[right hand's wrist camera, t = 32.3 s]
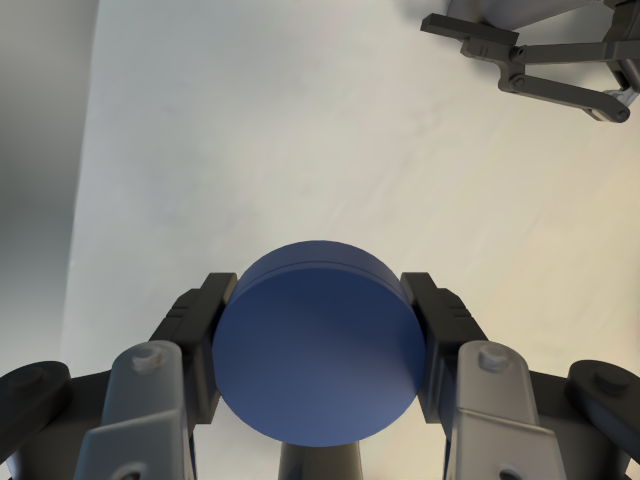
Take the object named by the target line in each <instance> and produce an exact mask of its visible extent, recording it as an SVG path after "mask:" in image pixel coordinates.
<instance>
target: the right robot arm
mask: <svg viewBox="0 0 640 480" xmlns="http://www.w3.org/2000/svg"><path fill="white" fill-rule="evenodd" d="M237 282H238V280H237V275H236V273H210V274H209V275H208V277H207V278H206V280H205V282H204V283H203V285H202V286H201V288H200V289H190V290H189V291H187V292H186V293H184V294H183V295H181V296H180V297H179V298H178V299H177V300H176V302H175V303H174V305H173V306H172V309H170V310H169V312H168V313H167V315H166V318H164V319H163V320H162V322H161V323H160V325H159V326H158V328H157V329H156V331H155V332H154V333H153V335H152V336H151V338H150V339H149V341H148V342H144V343H141V344H138V345H135V346H133V347H131V348H129V349H127V350H126V351H124V352H123V353H121V354H120V355H119V356H118V357H117V358H116V359H115V361H114V363H113V365H112V369H111V370H108V371H105V372H101V373H96V374H91V375H86V376H82V377H77V378H72V379H71V376H70V373H69V369H68V367H67V366H66V365H65V364H64V363H61V362H58V361H43V362H37V363H33V364H29V365H26V366H23V367H20V368H18V369H15V370H13V371H11V372H9V373H7V374H6V375H4V376H2V377H1V378H0V465H1V464H2V463H3V462H4V461H6V463H7V466H8V468H9V471H10V474H11V476H12V477H11V478H9V479H8V480H198V475H197V462H196V450H195V441H194V434H193V430H194V428H195V425H196V424H211V422H212V419H213V416H214V413H215V410H216V407H217V404H218V401H219V398H220V393H219V390H218V388H217V386H216V381H215V373H214V364H213V356H212V340H213V336H214V333H215V330H216V328H217V325H218V323H219V320H220V318H221V316H222V314H223V311H224V309H225V307H226V305H227V302H228V300H229V298H230V296H231V293H232V291H233V289H234V288H235V286H236V284H237ZM400 283H401V284H402V286H403V288H404V290H405V292H406V294H407V297H408V299H409V301H410V304H411V306H412V308H413V311H414V313H415V315H416V318H417V320H418V322H419V325H420V327H421V330H422V332H423V335H424V339H425V344H426V352H425V361H424V370H423V378H422V385H421V387H420V389H419V392H418V394H417V396H418V399H419V402H420V405H421V408H422V412H423V415H424V418H425V421H426V423H441V424H442V427H443V429H444V432H445V435H446V441H445V450H444V462H443V475H442V480H632V479H631V478H629V477H628V476H627V475H626V474H625V472H626V470H627V467H628V464H629V462H630V459H631V458H632V459H633V460H635V461H636V462H637V463H638V464H639V465H640V378H639V377H638V376H636V375H635V374H633V373H631V372H629V371H627V370H625V369H623V368H621V367H619V366H616V365H613V364H610V363H606V362H602V361H597V360H580V361H577V362H575V363H573V364H572V365H571V367H570V369H569V373H568V377H567V378H563V377H558V376H554V375H549V374H544V373H539V372H535V371H530V370H529V369H528V365H527V363H526V361H525V359H524V358H523V357H522V356H521V355H520V354H519V353H517V352H516V351H514V350H513V349H511V348H509V347H507V346H505V345H502V344H499V343H496V342H492V341H489V340H488V338H487V337H486V335H485V334H484V333H483V331H482V330H481V328H480V327H479V325H478V324H477V322H476V321H475V319H474V318H473V317H472V316H471V314H470V312H469V311H468V309H466V306H465V305H464V303H463V302H462V301H461V299H460V298H459V297H458V296H457V295H455V294H454V293H452V292H451V291H449V290H448V289H446V288H437V287H436V285H435V283H434V282H433V280H432V278H431V277H430V275H429V274H428V273H427V272H403V273H402V275H401V279H400ZM278 480H363V475H362V466H361V457H360V448H359V440H358V441H355V442H352V443H348V444H343V445H337V446H327V447H311V446H300V445H295V444H290V443H286V442H283V441H282V446H281V456H280V465H279V474H278Z"/></svg>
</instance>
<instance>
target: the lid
mask: <svg viewBox="0 0 640 480" xmlns="http://www.w3.org/2000/svg"><path fill="white" fill-rule="evenodd" d="M425 352H426V344H425V339H424V335H423V332H422V330H421V327H420V325H419V322H418V320H417V318H416V315H415V313H414V311H413V308H412V306H411V304H410V301H409V299H408V297H407V294H406V292H405V290H404V288H403V286H402V284H401V283H400V281H399V279H398V278H397V277H396V276H395V274H394V273H393V272H392V271H391V270H390V269H389V268H388V267H387V266H386V265H385V264H384V263H383V262H381V261H380V260H379V259H377V258H376V257H375V256H373V255H371V254H369V253H368V252H366V251H364V250H362V249H359V248H357V247H354V246H351V245H348V244H344V243H340V242H333V241H325V240H324V241H304V242H298V243H294V244H290V245H286V246H283V247H281V248H278V249H276V250H274V251H272V252H270V253H268V254H266V255H265V256H263V257H262V258H260V259H259V260H258V261H256V262H255V263H254V264H253V265H251V266H250V267H249V268H248V269H247V270H246V271H245V273H244V274H243V275H242V277H241V278H240V279H239V280H238V282H237V284H236V286H235V288H234V289H233V291H232V293H231V296H230V298H229V300H228V302H227V305H226V307H225V309H224V311H223V314H222V316H221V318H220V320H219V323H218V325H217V328H216V330H215V333H214V336H213V340H212V356H213V364H214V373H215V381H216V386H217V388H218V390H219V393H220V395H221V396H222V398H223V399H224V401H225V402H226V404H227V405H228V406H229V408H230V409H231V410H232V411H233V412H234V413H235V414H236V415H237V416H238V417H239V418H240V419H241V420H242V421H243V422H245V423H246V424H248V425H249V426H250V427H252V428H253V429H255V430H257V431H259V432H260V433H262V434H264V435H266V436H269V437H271V438H274V439H276V440H279V441H283V442H286V443H290V444H295V445H300V446H311V447H327V446H337V445H343V444H348V443H352V442H355V441H358V440H362V439H364V438H367V437H369V436H371V435H374V434H376V433H377V432H379V431H381V430H383V429H384V428H386V427H387V426H389V425H390V424H391V423H393V422H394V421H395V420H397V419H398V418H399V417H400V416H401V415H402V414H403V413H404V412H405V411H406V409H407V408H408V407H409V406H410V405H411V403H412V402H413V400H414V399H415V397H416V395H417V394H418V392H419V389H420V387H421V385H422V378H423V370H424V361H425Z"/></svg>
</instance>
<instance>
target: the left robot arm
mask: <svg viewBox="0 0 640 480" xmlns="http://www.w3.org/2000/svg"><path fill="white" fill-rule="evenodd" d="M603 3H604V4H605V5H606V6H608V7H610V8H611V9H613V10H615V12H614V15H613V20H612V26H611V28H610V29H609V31H608V32H607V34H606V35H605V37H604V39H603V41H602V42H599V43H577V44H555V45H533V46H527V45H524V46H520V47H518V46H514V45H516V42H517V39H518V36H519V33H517V32H512V31H508V30H504V29H499V28H495V27H491V26H486V25H482V24H478V23H473V22H469V21H465V20H460V19H456V18H452V17H447V16H443V15H439V14H434V13H432V14H430V15H429V16H427V17H426V18H425V19H423V21H422V25H421V29H420V31H424V32H429V33H433V34H438V35H442V36H446V37H451V38H455V39H460V40H464V42H463V45H462V49H461V52H460V53H462V54H463V55H464V56H466V57H470V58H474V59H479V60H483V61H488V62H492V63H495V64H497V65H498V66H499V67H500V71H501V78H500V80H499V82H498V88H499V89H500V90H501V91H504V92H508V93H513V94H517V95H522V96H526V97H531V98H535V99H539V100H544V101H548V102H553V103H557V104H562V105H566V106H571V107H575V108H580V109H582V110H583V111H585V112H586V113H587V114H589V115H590V116H591V117H593V118H594V119H595V120H597V121H606V122H615V123H622V122H625V121H626V120H627V119H628V118H629V116H630V110H629V108H628V107H629V105H630V104H631V103H632V102H633V101H634V99H635V98H636V97H637V96H638V95H639V94H640V0H604V2H603ZM593 62H606V63H607V65H608V67H609V68H610V70H611V72H612V73H613V75H614V77H615V78H616V80H617V82H618V83H619V85H620V86H621V88H620V89H619V90H605V91H603V92H598V91H594V90H590V89H585V88H581V87H576V86H572V85H568V84H563V83H559V82H554V81H550V80H546V79H541V78H537V77H532V76H528V75H525V65H542V64H564V63H593Z"/></svg>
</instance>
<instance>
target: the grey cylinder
mask: <svg viewBox="0 0 640 480" xmlns="http://www.w3.org/2000/svg"><path fill="white" fill-rule="evenodd" d="M596 1H599V0H452V1H451V3H450V6H449V9H448V14H447V17H452V18H456V19H460V20H465V21H469V22H473V23H478V24H482V25H486V26H491V27H495V28H499V29H504V30H508V31H512V30H515V29H518V28H521V27H524V26H526V25H529V24H532V23H535V22H538V21H541V20H544V19H547V18H550V17H552V16H555V15H558V14H561V13H564V12H567V11H570V10H573V9H576V8H578V7H581V6H584V5H587V4H590V3H593V2H596ZM457 40H459V41H461V42H464V40H460V39H457Z"/></svg>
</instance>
